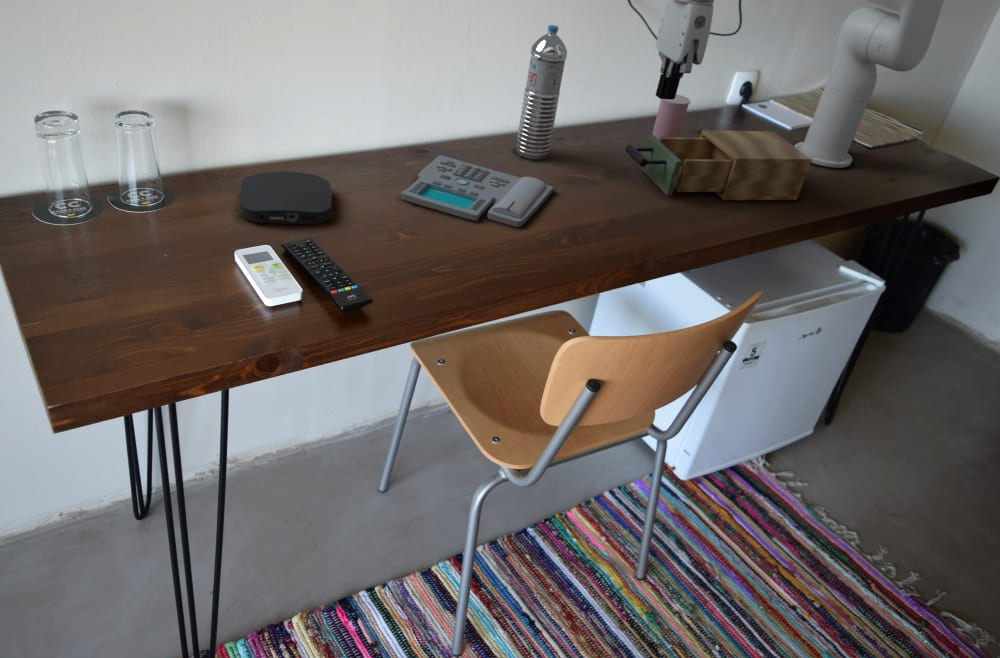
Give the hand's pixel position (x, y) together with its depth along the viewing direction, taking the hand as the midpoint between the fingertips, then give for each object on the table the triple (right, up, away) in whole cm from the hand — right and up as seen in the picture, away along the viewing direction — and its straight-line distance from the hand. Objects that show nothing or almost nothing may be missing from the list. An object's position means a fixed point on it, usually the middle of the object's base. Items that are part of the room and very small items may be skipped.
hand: (664, 97), depth 148 cm
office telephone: (-35, -18, -2) cm, 39 cm away
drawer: (+5, -13, +12) cm, 18 cm away
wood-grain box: (+20, -12, +16) cm, 28 cm away
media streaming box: (-67, -22, -13) cm, 71 cm away
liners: (+5, -4, +25) cm, 26 cm away
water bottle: (-23, -6, +17) cm, 29 cm away
